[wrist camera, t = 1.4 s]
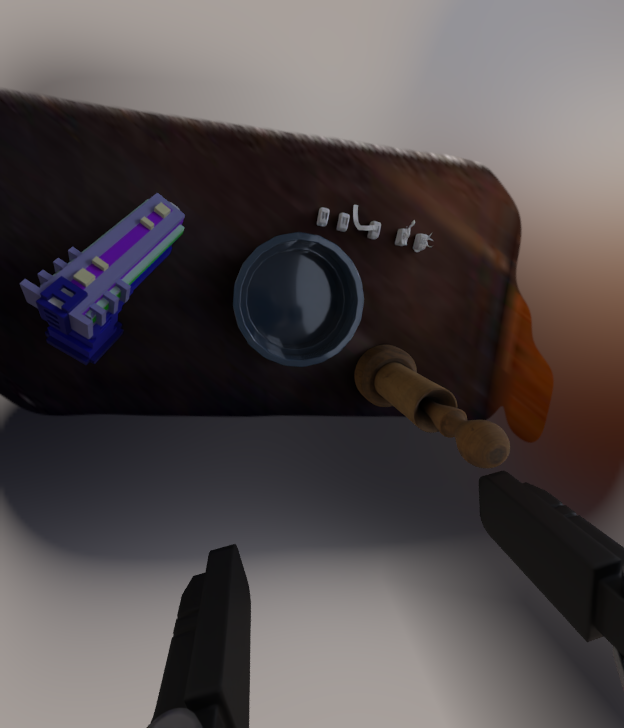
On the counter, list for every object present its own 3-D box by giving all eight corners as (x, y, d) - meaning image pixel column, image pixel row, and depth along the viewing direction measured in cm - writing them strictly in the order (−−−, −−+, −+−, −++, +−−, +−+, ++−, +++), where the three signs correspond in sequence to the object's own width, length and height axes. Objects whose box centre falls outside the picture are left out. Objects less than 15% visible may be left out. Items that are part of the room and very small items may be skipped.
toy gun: (38, 343, 27) (12, 284, 19) (141, 248, 34) (155, 176, 26) (87, 371, 28) (82, 327, 20) (177, 274, 35) (200, 213, 27)
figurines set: (315, 227, 31) (322, 223, 29) (321, 196, 31) (328, 188, 28) (424, 254, 34) (439, 252, 31) (431, 226, 34) (447, 222, 31)
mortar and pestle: (401, 401, 38) (527, 501, 21) (349, 398, 37) (438, 503, 20) (412, 346, 37) (557, 406, 20) (358, 341, 35) (464, 401, 18)
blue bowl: (232, 348, 33) (229, 361, 28) (239, 231, 30) (238, 222, 25) (337, 357, 35) (353, 370, 30) (353, 249, 33) (373, 244, 27)
